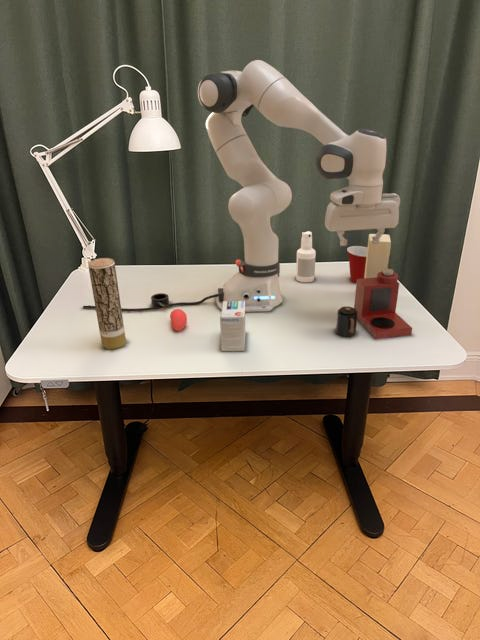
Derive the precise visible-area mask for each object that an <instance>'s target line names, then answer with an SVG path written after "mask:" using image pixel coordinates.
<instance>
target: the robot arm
mask: <svg viewBox="0 0 480 640" xmlns="http://www.w3.org/2000/svg"><path fill="white" fill-rule="evenodd" d="M197 97H198V101H199V104H200V105H201V107H202V108H203V109H204V110H205V111H207V112H210V114H209V115H208V117H207V118H206V121H205V128H206V131H207V135H208V138H209V141H210V143H211V145H212V148H213V150H214V152H215V154H216V156H217V158H218V160H219V162H220V164H221V166H222V167H223V169H224V171H225V173H226V175H227V176H228V178H230V179H231V180H233V181H235V182H237V183H238V184H239V185H240V186H241V187H242V188H240V189H239V190H238V191H236V192H235V193H234V194H232V195H231V197H230V198H229V200H228V204H227V207H228V213H229V216H230V217H231V219H232V220H233V221H234V222H235V223H236V224H237V225H238V226H239V228H240V231H241V234H242V238H243V251H244V259H243V260H241V259H238V258H237V259H235V262H234V263H235V266H236V267H238V271H237V272H236V273H235V274H234V275H232V276H231V277H230V278H228V279H227V280H225V282H224V283H223V286H222V287H219V288H217V293H216V294H212V295H209V296H206V297H204V298H202V299H201V300H198V301H193V302H172V303H169V304H167V305H168V306H169V307H168V308H170V307H176V306H195V305H200V304H203V303H204V302H205V301H207V300H210V299H213V298H215V302H216V306H217V307H218V309H219V310H221V311H222V302H223V301H245V313H246V312H247V313H249V312H251V313H252V312H254V313H256V312H270V311H272V310H273V309H274V308H275V307H278V306H279V305H281V304H282V302H283V296H282V292H281V287H280V279H279V277H280V273H281V264H280V260H279V240H280V239H279V237H278V235H277V234H276V233H275V232H274V231H273V229H272V225H271V218H272V217H274V216H277V215H279V214H280V213H282V212H283V211H285V210H286V209H287V208H288V207H290V205H291V203H292V200H293V199H292V198H293V193H292V189H291V187H290V186H289V184H288V183H287V182H285V181H283V180H281V179H280V178H278V177H277V176H276V175H275V174H274V173H273V172H272V171H271V169H269V168H268V167H267V165H266V164H265V163H264V162H263V160H262V158H261V157H260V156H259V154H258V152H257V150H256V149H255V147H254V145H253V143H252V141H251V139H250V138H249V135H248V133H247V132H246V129H245V128H244V125H243V123H242V117H247V116H248V115H249V114H250V112H251V111H252V109H253V108H256V110H257V111H258V112H259V113H260V114H261V115H262V116H263V117H264V118H265V119H267V120H268V121H269V122H270V123H272V124H273V125H276V126H278V127H281V128H290V129H297V130H301V131H303V132H304V131H305V132H306V133H309V134H310V135H312V136H313V137H314V138H315V139H316V140H318V141H319V142H320V143H321V145H323V146H321V148H320V149H319V150H318V152H317V154H316V156H315V157H316V159H315V165H316V169H317V171H318V173H319V174H320V175H321V177H323V178H324V179H326V180H340V179H347V180H348V186H345V187H342V188H340V189H337V190H334V191H332V192H331V193H330V195H329V199H330V200H331V202H329V204H328V205H327V206H326V212H325V217H324V227H325V228H326V230H328V231H329V232H336V235H337V236H338V237H339V245H340V246H341V247H347V246H348V239H347V238H345V237H344V235H345V232H347V231H362V230H363V231H364V230H376V231H377V232H376V233H375V234H376V235H375V236H372V243H373V244H379V240H380V237H381V236H382V235H383V234H384V233H385V231H386V230H385V229H395V228H396V227H397V226H398V225H399V219H400V218H399V217H400V205H401V197H400V195H398V194H397V193H394V192H392V193H383V188H384V179H383V178H384V177H383V176H384V175H383V174H384V172H385V168H386V163H387V162H386V161H387V149H388V147H387V138H386V136H385V135H384V133H382V132H381V131H378V130H376V129H371V128H359V129H357V130H355V131H354V132H353V133H351V134H350V133H349V132H347V131H345V130H344V129H343V128H342V127H341V126H339V125H338V124H337V123H336V122H335V121H333V119H332V118H330V117H329V116H328V115H327V114H326V113H325V112H323V111H322V110H321V109H320V108H318V107H317V106H316V105H314V104H313V102H312V101H311V100H309V99H308V98H307V97H306V96H305V95H304V94H303V93H301V91H300V90H299V89H298V88H296V86H294V84H292V82H291V81H289V79H288V78H286V77H285V75H283V74H282V73H281V71H279V70H278V69H276V68H275V67H273V66H272V65H271V64H269V63H267V62H266V61H264V60H261V59H255V60H252V61H250V62H249V63H248V64H247V65H245V66H244V68H243V69H242V70H235V69H234V70H232V69H230V70H229V69H228V70H223V71H214V72H210V73H207V74H206V75H204V76H202V78H201V79H200V81H199V83H198V87H197ZM82 307H83V309H95V310H96V308H95V305H88V306H83V305H82ZM165 308H167V307H163V306H158V307H152V306H151V307H141V308H139V307H138V308H123V307H121V310H122V312H146V311H155V310H160V309H165Z"/></svg>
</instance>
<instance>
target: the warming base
mask: <svg viewBox="0 0 480 640" xmlns="http://www.w3.org/2000/svg"><path fill="white" fill-rule="evenodd" d="M391 289H392V288H382V289H372V296H371V306H370V311H375V310H385V309H389V304H390V296H391ZM360 324H361V325H362V326H363V327H364V329H366V330H367V332H368V333H369V334H370V335H371V336H372V337H373V338H374V340H382V339H389V338H399V337H400V338H401V337H408V336H409V337H410V336H412V332H413V327H412V326H411V325H410V324H409V323H408V322H407V321H405V319H403V318H402V317H401V316H400V315H399V314H398V313H397V312H395V313H386V314H376V315H366V316H362V318H361V323H360Z"/></svg>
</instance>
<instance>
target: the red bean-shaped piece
mask: <svg viewBox="0 0 480 640" xmlns="http://www.w3.org/2000/svg"><path fill="white" fill-rule="evenodd" d="M187 316H188V315H187V313H186V312H185V311H184V310H183V309H180V308H175V309H173V310H172V311H171V312H170V314H169V318H170V322H171V327H172V328H173V330H175V331H181V330H183V329H184V328H185V327H186V326H187V322H188V317H187Z"/></svg>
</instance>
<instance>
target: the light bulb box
mask: <svg viewBox="0 0 480 640" xmlns="http://www.w3.org/2000/svg"><path fill="white" fill-rule="evenodd" d="M219 325H220V345H221V346H220V347H221V349H220V350H221V352H245V347H246V312H245V301H223V302H222V310H221V312H220V316H219Z"/></svg>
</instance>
